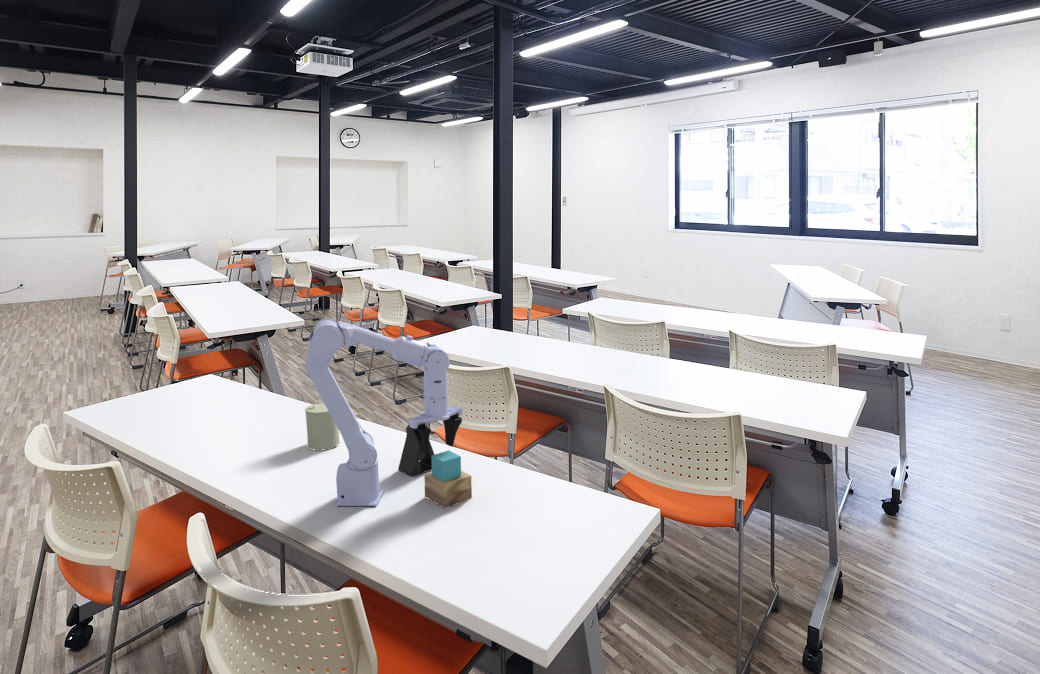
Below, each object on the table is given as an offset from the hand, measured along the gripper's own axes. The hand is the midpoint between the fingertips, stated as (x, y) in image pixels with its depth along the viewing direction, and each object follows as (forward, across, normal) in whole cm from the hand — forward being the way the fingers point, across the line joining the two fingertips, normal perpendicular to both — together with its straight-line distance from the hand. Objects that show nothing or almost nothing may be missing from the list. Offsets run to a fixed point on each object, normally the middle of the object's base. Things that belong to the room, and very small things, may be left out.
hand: (437, 449), depth 152 cm
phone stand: (+11, +4, +13) cm, 18 cm away
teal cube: (+5, -2, -5) cm, 7 cm away
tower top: (+8, -1, -6) cm, 10 cm away
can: (+11, -6, +47) cm, 49 cm away
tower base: (+11, -1, -6) cm, 12 cm away
